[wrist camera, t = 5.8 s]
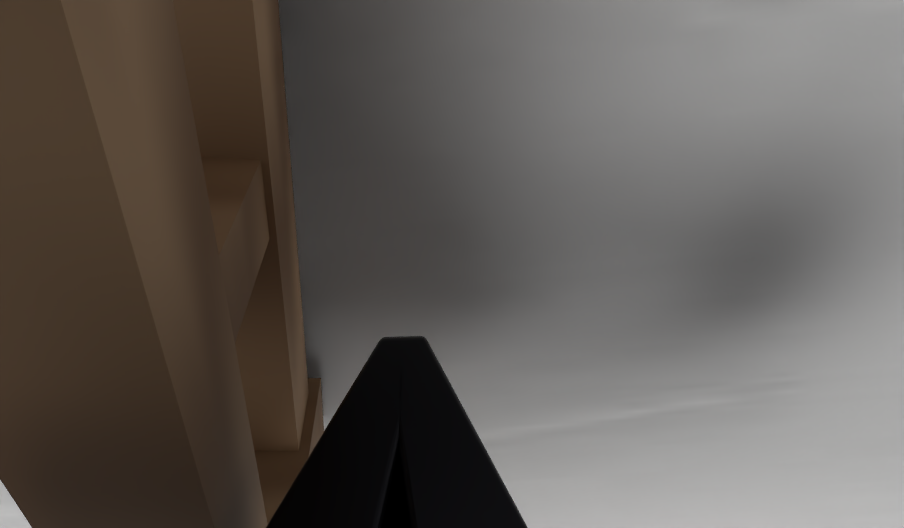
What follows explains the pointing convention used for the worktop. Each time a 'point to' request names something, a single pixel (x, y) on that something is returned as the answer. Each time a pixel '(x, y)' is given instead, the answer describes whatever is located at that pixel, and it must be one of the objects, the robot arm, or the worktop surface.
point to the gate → (149, 266)
